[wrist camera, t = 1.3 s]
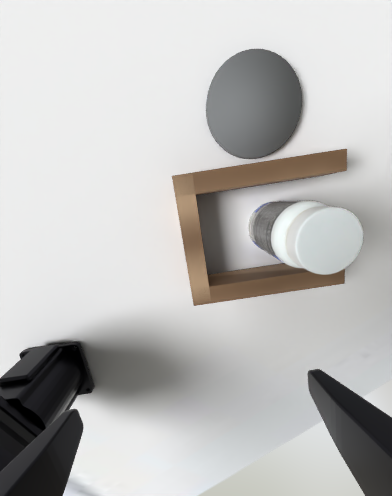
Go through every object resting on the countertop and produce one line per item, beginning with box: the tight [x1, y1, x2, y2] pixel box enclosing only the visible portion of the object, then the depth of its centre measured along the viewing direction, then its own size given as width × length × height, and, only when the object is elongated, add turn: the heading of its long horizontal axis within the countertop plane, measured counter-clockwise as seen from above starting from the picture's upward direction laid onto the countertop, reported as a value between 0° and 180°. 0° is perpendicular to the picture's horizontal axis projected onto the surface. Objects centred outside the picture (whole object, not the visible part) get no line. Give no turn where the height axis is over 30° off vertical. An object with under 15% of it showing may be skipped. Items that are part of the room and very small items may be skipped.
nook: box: [172, 149, 347, 306], centre depth 18 cm, size 11×14×3 cm
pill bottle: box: [248, 200, 364, 275], centre depth 15 cm, size 5×5×8 cm
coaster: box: [206, 49, 302, 159], centre depth 17 cm, size 8×8×1 cm
